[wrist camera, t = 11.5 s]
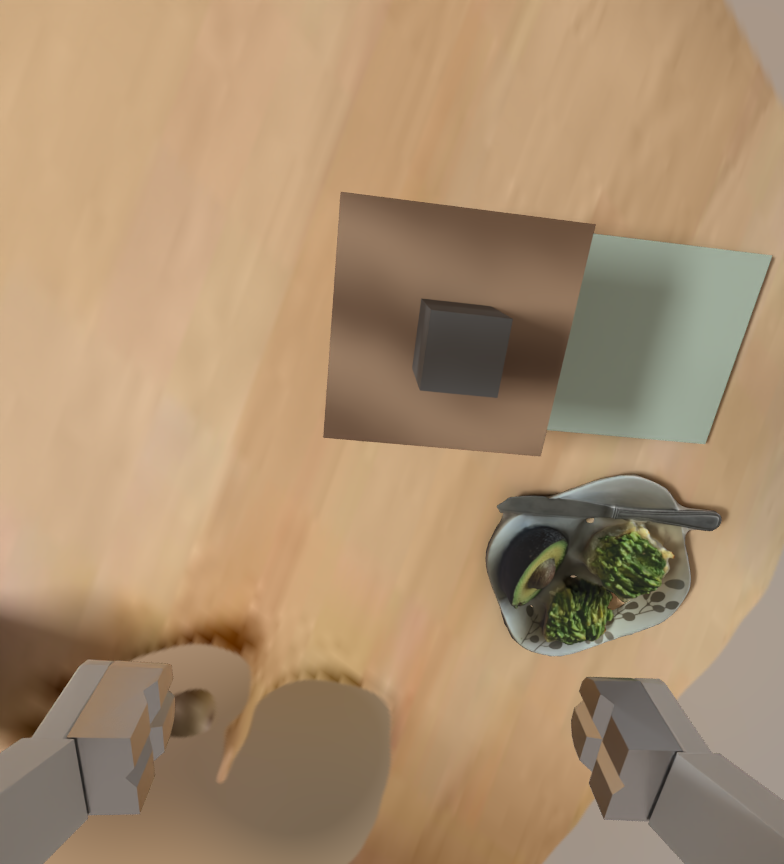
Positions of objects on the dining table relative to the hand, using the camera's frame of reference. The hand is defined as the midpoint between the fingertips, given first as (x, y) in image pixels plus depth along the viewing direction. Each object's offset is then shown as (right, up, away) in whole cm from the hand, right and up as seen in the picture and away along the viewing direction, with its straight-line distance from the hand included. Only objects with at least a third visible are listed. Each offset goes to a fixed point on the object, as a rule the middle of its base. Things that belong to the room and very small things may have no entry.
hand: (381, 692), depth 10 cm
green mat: (+18, +12, +27) cm, 35 cm away
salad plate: (+16, -6, +35) cm, 39 cm away
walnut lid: (+3, +10, +16) cm, 19 cm away
